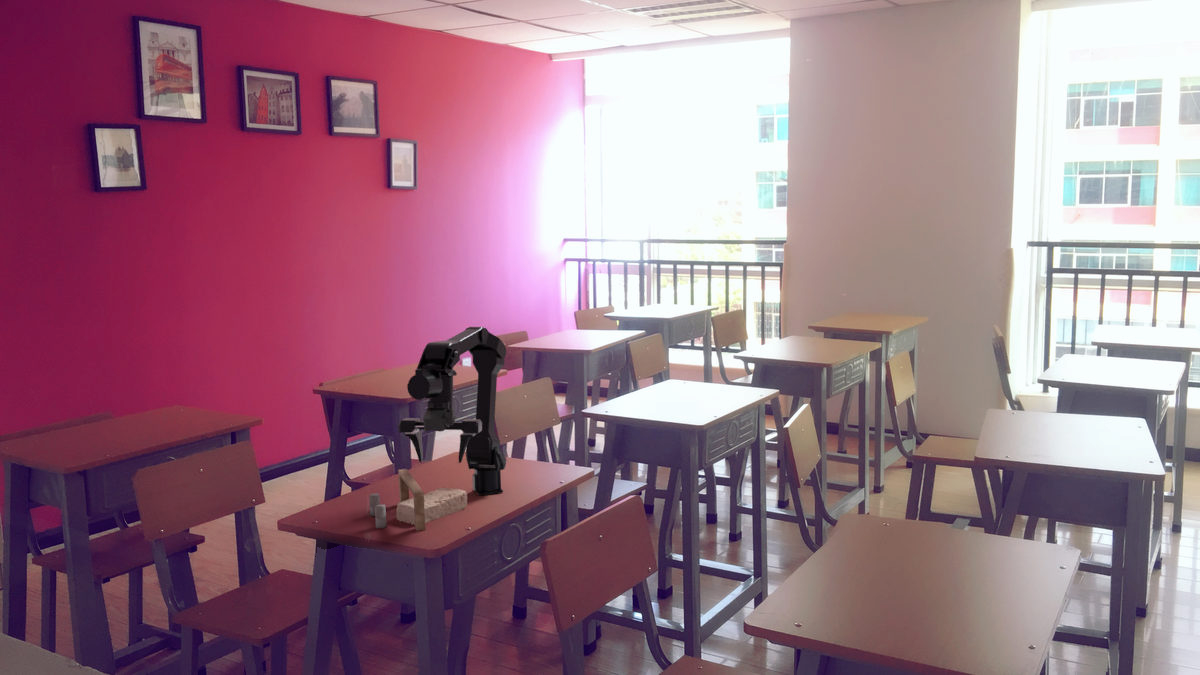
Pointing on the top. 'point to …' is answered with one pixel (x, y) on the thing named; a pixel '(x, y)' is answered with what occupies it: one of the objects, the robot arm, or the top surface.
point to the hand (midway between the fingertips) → (440, 462)
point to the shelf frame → (404, 485)
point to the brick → (434, 505)
